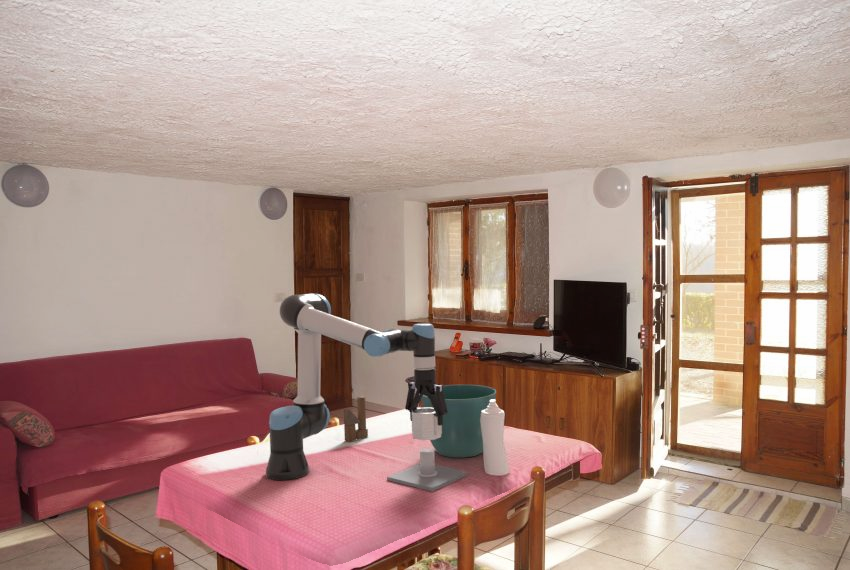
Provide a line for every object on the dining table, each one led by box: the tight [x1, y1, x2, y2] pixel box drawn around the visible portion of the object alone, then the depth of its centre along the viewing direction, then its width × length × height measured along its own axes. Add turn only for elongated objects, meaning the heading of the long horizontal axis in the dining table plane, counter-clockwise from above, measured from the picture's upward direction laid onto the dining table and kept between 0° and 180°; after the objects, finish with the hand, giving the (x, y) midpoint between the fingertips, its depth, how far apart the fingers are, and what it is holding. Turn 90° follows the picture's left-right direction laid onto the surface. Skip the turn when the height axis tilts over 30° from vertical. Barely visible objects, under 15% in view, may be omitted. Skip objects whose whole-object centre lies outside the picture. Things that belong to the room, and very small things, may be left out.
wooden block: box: [343, 395, 369, 443], centre depth 267 cm, size 4×11×18 cm, turn 139°
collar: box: [411, 407, 441, 441], centre depth 213 cm, size 10×10×9 cm
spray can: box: [480, 399, 510, 477], centre depth 219 cm, size 12×11×25 cm
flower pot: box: [421, 384, 497, 459], centre depth 243 cm, size 30×30×24 cm
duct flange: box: [386, 448, 469, 493], centre depth 213 cm, size 20×20×9 cm
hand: (426, 432), depth 213 cm, fingers closed on collar, 10 cm apart
